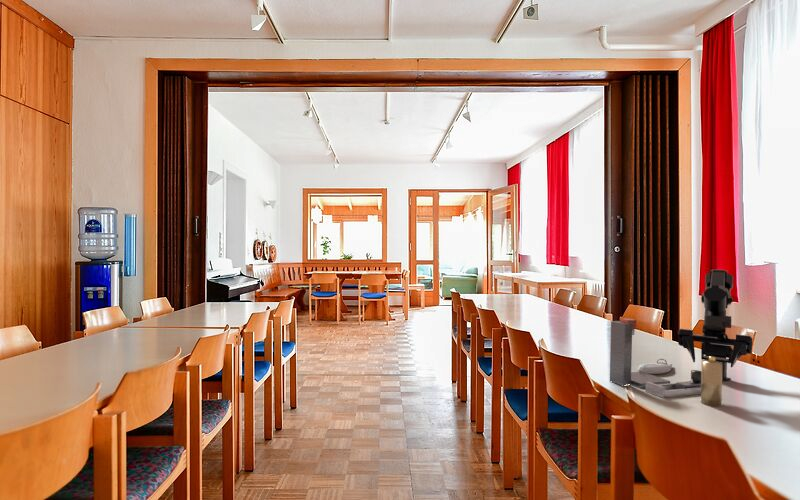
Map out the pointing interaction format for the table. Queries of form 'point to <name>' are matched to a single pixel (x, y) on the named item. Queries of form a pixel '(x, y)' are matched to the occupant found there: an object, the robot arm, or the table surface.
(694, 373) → the sliding block with knob
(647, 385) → the guide rail
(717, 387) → the disc
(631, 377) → the press bed
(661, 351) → the table surface
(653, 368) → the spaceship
